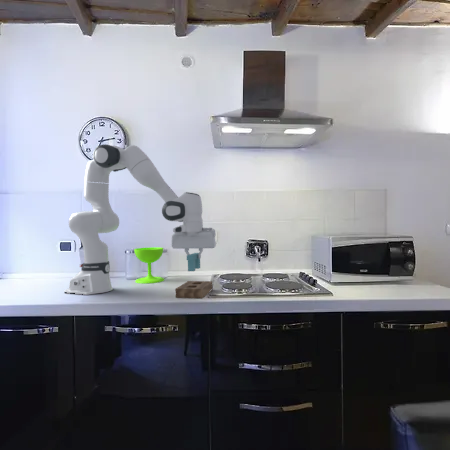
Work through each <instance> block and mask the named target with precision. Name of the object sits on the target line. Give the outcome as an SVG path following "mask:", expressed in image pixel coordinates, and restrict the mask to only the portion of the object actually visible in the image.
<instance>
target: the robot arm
mask: <svg viewBox="0 0 450 450" xmlns="http://www.w3.org/2000/svg"><path fill="white" fill-rule="evenodd" d="M92 158H93V159H91V160H89V161H88V162H87V163H86V168H85V174H84V186H83V188H84V189H83V198H84V199H85V201H87V203H89V204H90V206H91V207H92V210H90V211H89V210H88V211H87V210H84V211H83V210H82V211H79V212H78V211H77V212H75V213H74V212H73V213H72V214H71V215H70V217H69V218H68V227H69V229H70V231H71V232H72V233H73V234H75V235H76V236H77V237H78V239H79V240H80V243H81V245H82V248H83V257H84V258H83V260H84V262H83V263H81V264H80V265H79V268H81V270H80V271H79V272H78V273H77V274H76V275H74V276H73V277H71V278H70V281H69V284H68V288H67V289H64V290H63V292H67V293H66V294H70V293H75V294H74V295H82V294H83V295H84V296H88V295H95V294H103V293H107V292H110V291H113V290H114V289H113V286H112V282H111V278H110V272H111V271H110V261H109V249H108V248H109V247H108V244H107V243H105V242H104V241H102V240H101V239H100V236H99V234H108V233H111V232H115V231H116V230H117V229H118V228H119V226H120V217H119V215H118V214H117V213H115V211H114V210H113V208H112V206H111V204H110V198H109V197H110V196H109V195H110V194H109V190H110V189H109V186H110V175H111V173H112V172H115V173H116V172H119V171H123V170H126V169H127V170H128V171H129V173H130V174H131V176H132V177H133V178H134V180H136V181H137V182H138V183H139V184H140V185H142V186H144V187H146V188H149V189H150V190H153V191H154V192H155V193H157V194H158V195H159V196H160V197H161V199H162V200H163V202H164V204H163V205H162V207H161V213H162V216H163V218H164V219H165V220H167V221H169V222H179V223H182V225H179V226H176V227H174V228H172V231H173V234H172V235H171V248H172V249H176V250H177V249H179V250H181V249H184V252H185V254H186V256H187V255H190V254H191V253H190V252H189V251H190V249H198V251H199V252H198V253H199V254H197V258H200V259H201V258H202V253H203V251H204V249H214V248H215V247H216V246H217V243H216V229H214V228H213V227H204V223H203V221H204V220H203V218H202V215H203V203H202V198H201V196H200V194H199V193H194V192H188V191H186V192H184V193H183V194H181V195H180V196H177V194H176V193H175V192H174V190H173V189H172V188H171V186H169V184H168V183H167V182H166V181H165V179H164V178H163V176H162V175H161V173H160V172H159V170H158V168H157V167H156V165H155V164H154V163H153V161H152V160H151V159H150V158H149V156H148V155H147V153H145V152H144V151H143V150H142V149H141V148H140V147H139V146H137V145H134V144H131V145H128V146H127V147H125V148H124V147H120V146H116V145H111V144H106V143H105V144H100V145H97V146H96V147H95V148H94V150H93V152H92Z"/></svg>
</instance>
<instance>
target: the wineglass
mask: <svg viewBox="0 0 450 450" xmlns="http://www.w3.org/2000/svg"><path fill="white" fill-rule="evenodd" d="M133 250H134V256H135V257H136V258H137V260H139V261H140V262H142V263H145V264H147V275H146V276H145V277H138V278H137V279H135V280H134V282H135V283H136V284H141V285H143V284H145V285H147V284H156V283H157V284H158V283H162V282H164V281H165V278H164V277H161V276H154V275H153V274H152V264H153V263H155V262H157V261H159V259H161V257H162V255H163V253H164V247H159V246H158V247H157V246H156V247H151V246H150V247H141V248H139V247H138V248H137V247H136V248H134V249H133Z"/></svg>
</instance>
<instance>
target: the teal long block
mask: <svg viewBox="0 0 450 450" xmlns="http://www.w3.org/2000/svg"><path fill="white" fill-rule="evenodd" d="M189 254H190V255H187V254H186V261H187V272H195V271H196V269H201V258H197V254H199V252H194V253H189Z"/></svg>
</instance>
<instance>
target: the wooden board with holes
mask: <svg viewBox="0 0 450 450" xmlns="http://www.w3.org/2000/svg"><path fill="white" fill-rule="evenodd" d="M211 289H212V290H213V280H212V281H210V280H209V281H207V280H205V281H204V280H188V281H186V282H184V283H183V284H181V285H179V286H177V287H176V288H175V289H174V290H175V299H203V298H205V296H207V295H208V294H209V293H210V292H211V291H212V290H211ZM210 290H211V291H210ZM209 291H210V292H209Z"/></svg>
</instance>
